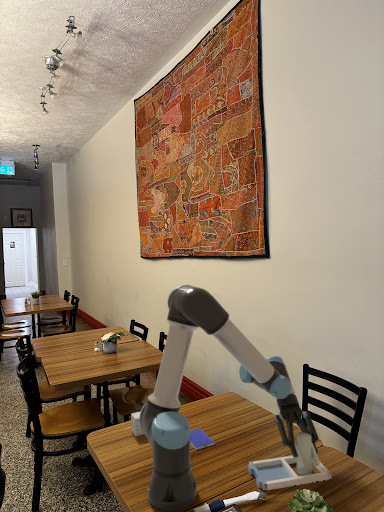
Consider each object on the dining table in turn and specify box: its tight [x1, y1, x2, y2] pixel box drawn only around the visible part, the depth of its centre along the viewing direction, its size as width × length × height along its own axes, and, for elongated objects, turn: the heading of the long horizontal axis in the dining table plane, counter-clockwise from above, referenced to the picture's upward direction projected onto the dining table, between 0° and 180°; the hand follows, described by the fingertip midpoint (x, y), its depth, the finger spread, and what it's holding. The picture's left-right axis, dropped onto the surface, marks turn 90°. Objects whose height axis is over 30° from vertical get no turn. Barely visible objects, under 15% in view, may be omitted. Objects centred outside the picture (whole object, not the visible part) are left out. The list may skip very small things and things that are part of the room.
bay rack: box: [247, 455, 332, 491], centre depth 122 cm, size 25×12×2 cm, turn 102°
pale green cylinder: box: [295, 431, 313, 476], centre depth 123 cm, size 5×5×12 cm
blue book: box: [190, 428, 216, 450], centre depth 145 cm, size 2×8×12 cm
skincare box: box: [130, 411, 145, 437], centre depth 152 cm, size 6×6×7 cm
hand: (309, 466), depth 119 cm, fingers closed on pale green cylinder, 5 cm apart
